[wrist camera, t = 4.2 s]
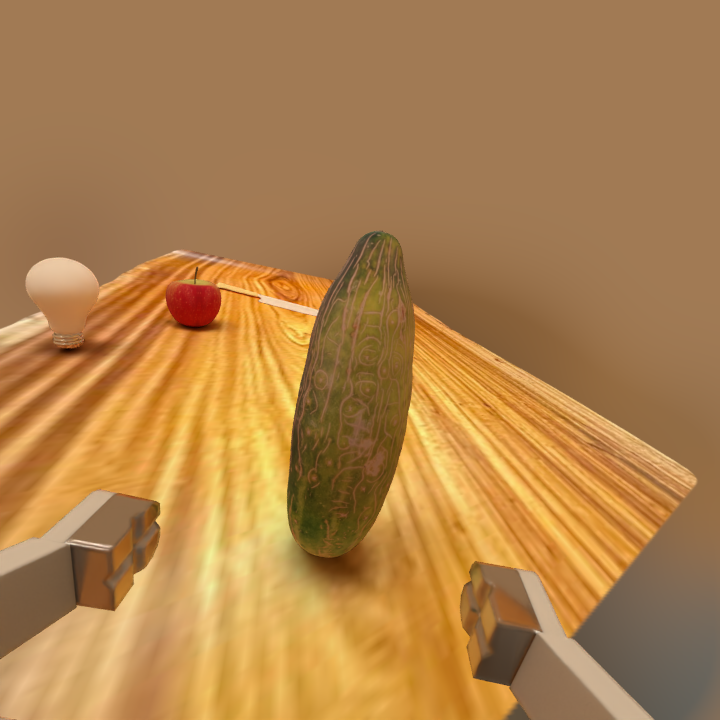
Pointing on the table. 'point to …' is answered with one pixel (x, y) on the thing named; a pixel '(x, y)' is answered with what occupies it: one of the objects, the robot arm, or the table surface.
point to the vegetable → (352, 400)
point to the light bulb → (63, 297)
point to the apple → (193, 301)
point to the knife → (271, 300)
